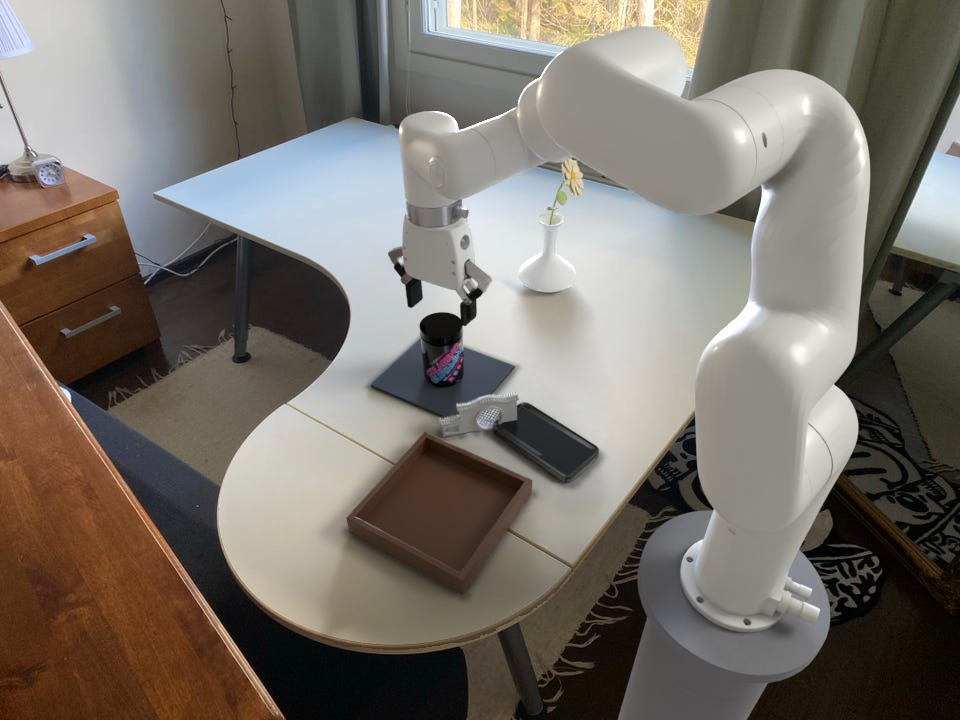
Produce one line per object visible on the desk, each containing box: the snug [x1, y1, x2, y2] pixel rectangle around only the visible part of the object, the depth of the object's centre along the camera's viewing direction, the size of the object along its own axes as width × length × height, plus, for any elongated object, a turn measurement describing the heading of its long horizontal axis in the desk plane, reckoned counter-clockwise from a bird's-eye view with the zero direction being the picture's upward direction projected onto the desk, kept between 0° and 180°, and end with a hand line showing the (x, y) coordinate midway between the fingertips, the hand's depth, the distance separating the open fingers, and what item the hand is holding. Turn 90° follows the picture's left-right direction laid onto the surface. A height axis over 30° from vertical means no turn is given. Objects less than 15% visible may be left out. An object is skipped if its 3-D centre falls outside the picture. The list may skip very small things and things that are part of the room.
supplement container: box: [418, 311, 464, 387], centre depth 106 cm, size 7×7×10 cm
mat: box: [370, 338, 516, 419], centre depth 110 cm, size 18×16×1 cm
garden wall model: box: [438, 391, 520, 438], centre depth 99 cm, size 12×2×6 cm, turn 103°
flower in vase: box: [517, 158, 585, 293], centre depth 124 cm, size 13×11×25 cm
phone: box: [492, 401, 600, 483], centre depth 98 cm, size 8×1×15 cm
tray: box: [345, 431, 533, 595], centre depth 88 cm, size 18×18×3 cm
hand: (441, 312), depth 101 cm, fingers open, 9 cm apart
